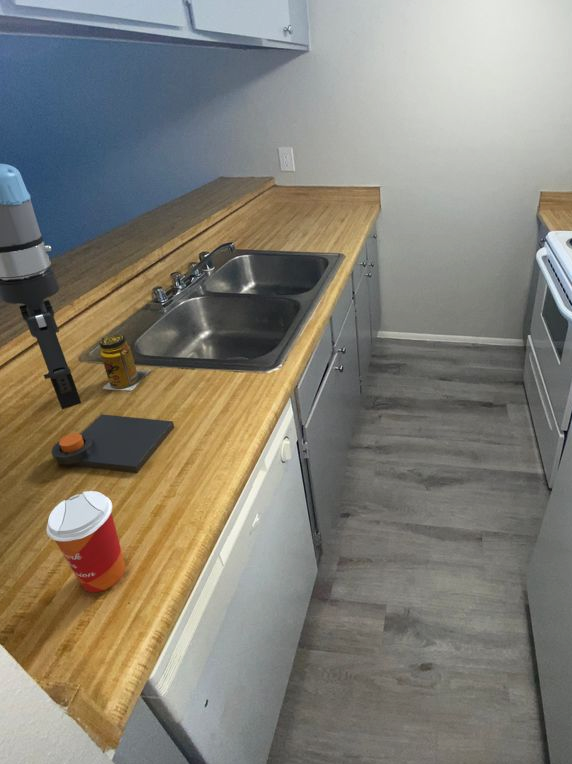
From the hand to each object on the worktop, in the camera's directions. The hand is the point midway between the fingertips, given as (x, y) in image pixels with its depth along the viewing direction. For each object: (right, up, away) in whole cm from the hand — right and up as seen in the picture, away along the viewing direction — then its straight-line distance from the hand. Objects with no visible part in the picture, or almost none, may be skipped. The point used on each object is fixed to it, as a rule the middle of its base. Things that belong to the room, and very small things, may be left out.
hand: (64, 385), depth 81 cm
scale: (+1, -14, +14) cm, 20 cm away
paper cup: (+13, -27, -10) cm, 32 cm away
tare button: (-5, -13, +9) cm, 16 cm away
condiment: (-9, -4, +33) cm, 35 cm away
